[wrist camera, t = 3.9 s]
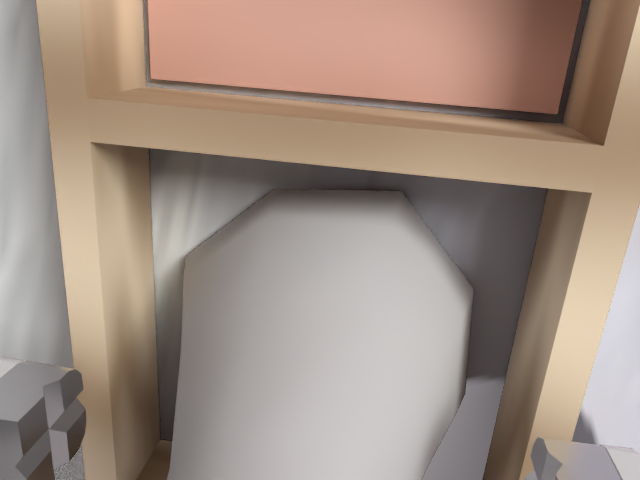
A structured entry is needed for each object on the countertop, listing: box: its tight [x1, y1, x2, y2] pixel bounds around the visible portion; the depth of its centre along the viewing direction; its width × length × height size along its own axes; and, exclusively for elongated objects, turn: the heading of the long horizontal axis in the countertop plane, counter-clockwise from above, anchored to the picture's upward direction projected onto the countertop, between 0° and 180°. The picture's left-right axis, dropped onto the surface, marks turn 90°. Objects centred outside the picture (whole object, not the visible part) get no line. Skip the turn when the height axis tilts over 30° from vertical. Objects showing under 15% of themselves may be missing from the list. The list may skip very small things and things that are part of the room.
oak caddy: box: [36, 0, 640, 480], centre depth 11 cm, size 20×11×2 cm, turn 176°
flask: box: [167, 189, 474, 480], centre depth 9 cm, size 7×7×10 cm
